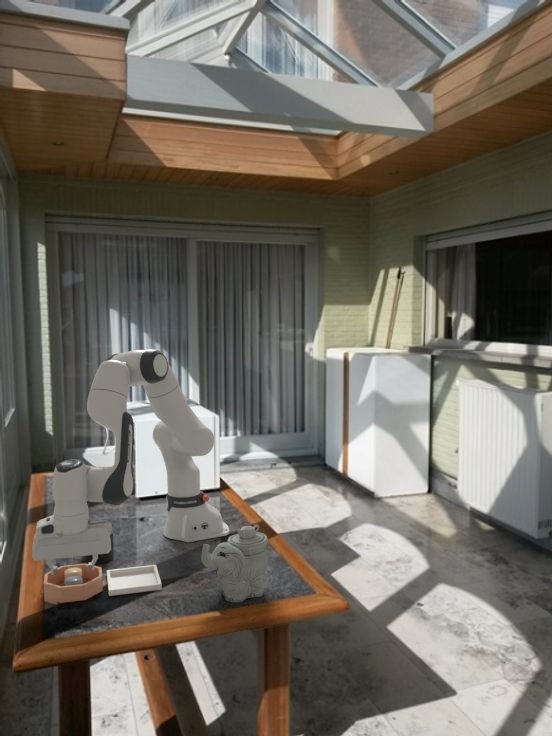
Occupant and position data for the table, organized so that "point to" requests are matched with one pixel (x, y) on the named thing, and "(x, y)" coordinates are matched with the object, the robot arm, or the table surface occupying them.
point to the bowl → (61, 593)
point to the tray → (133, 580)
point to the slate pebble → (73, 580)
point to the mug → (101, 557)
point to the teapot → (239, 563)
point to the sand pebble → (73, 572)
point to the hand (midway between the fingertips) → (73, 571)
